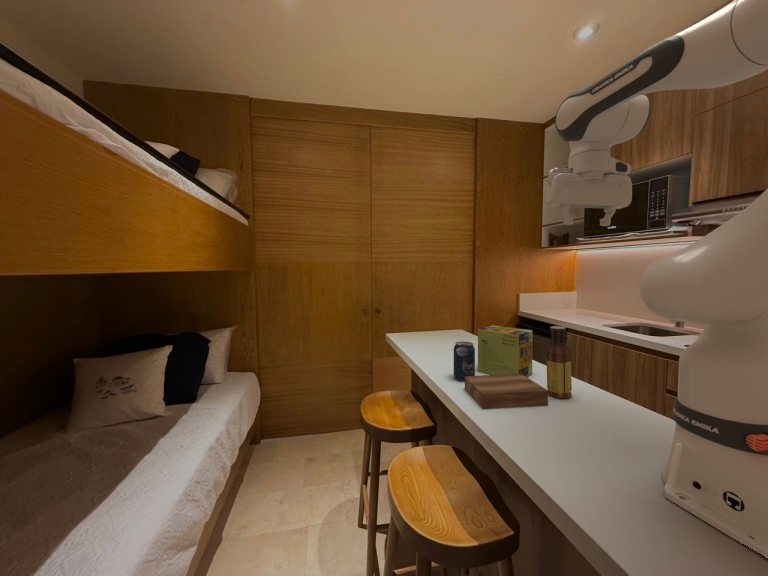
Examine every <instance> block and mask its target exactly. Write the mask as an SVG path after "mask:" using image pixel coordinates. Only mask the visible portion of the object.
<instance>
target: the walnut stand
mask: <svg viewBox="0 0 768 576" xmlns="http://www.w3.org/2000/svg"><path fill="white" fill-rule="evenodd" d="M464 390H465V391H466V393H468V394H469V395H470V397H471V398H472V399H473V400H474V401H475V402H476V404H478V405H479V407H480V408H482V409H483V410H485V409H486V410H487V409H506V408H522V407H523V408H524V407H540V406H541V407H542V406H548V405H549V393H548V389H546V388H545V387H543V386H541V385H540V384H538V383H536V382H535V381H534V380H532V379H530V378H529V377H526V376H524V375H522V374H504V375H491V374H487V375H485V374H484V375H483V374H482V375H475V376H465V382H464Z"/></svg>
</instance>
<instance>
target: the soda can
mask: <svg viewBox="0 0 768 576" xmlns="http://www.w3.org/2000/svg"><path fill="white" fill-rule="evenodd" d="M465 376H476V348H475V347H474V343H473V342H470V341H456V342H455V345H454V347H453V377H454V379H456V381H458V380H459V382H463V381H464V383H465Z"/></svg>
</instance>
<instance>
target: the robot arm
mask: <svg viewBox="0 0 768 576" xmlns="http://www.w3.org/2000/svg"><path fill="white" fill-rule="evenodd" d="M767 70H768V0H732V1H731V2H729V3H727V4H726V5H724V6H723V7H721V8H720V9H718V10H717V11H714V12H713V13H712V14H710V15H708V16H707V17H705V18H703V19H702V20H700V21H698V22H697V23H695V24H693V25H691V26H689V27H688V28H685V29H683V30H681V31H680V32H677V33H675V34H673V35H670V36H669V37H666V38H665V39H662V40H661V41H659V42H657V43H654V44H653V45H651V46H649V47H647V48H646V49H644V50H643V51H640V52H639V53H637V55H635V56H633V57H632V58H630V59H629V60H627V61H626V62H624V63H623V64H621V65H620V66H618V67H617V68H615V69H614V70H612V71H611V72H609V73H608V74H606V75H605V76H603V77H601V78H599V79H598V80H597V81H595V82H594V83H593V84H590V85H588V86H586V87H581V88H578V89H575V90H574V91H573V92H572V93H570V94H569V95H568V96H567V97H566V98H565V99H564V100H563V102H561V104H560V105H559V107H558V109H557V111H556V113H555V116H554V117H555V118H554V127H555V129H556V132H557V133H558V135H559V137H560V138H561V139H562V140H563V141H565V142H568V146H569V148H570V152H569V156H568V160H567V161H568V163H567V164H568V165H567V167H568V168H567V167H565V168H563V167H562V168H560V167H554V168H552V169H551V170H549V171H548V173H547V176H546V177H547V178H546V183H547V185H546V191H545V197H544V198H545V199H544V203H545V204H546V205H547V207H552V208H553V207H557V208H559V209H558V211H559V213H560V214H561V216H562V218H563V225H566V226H570V225H573V224H574V220H575V218H574V217H575V216H571V214H570V211H569V210H571V208H583V209H584V208H585V209H603V213H605V214H604V217H603V218H600V219H599V222H600V223H599V226H602V227H608V226H610V225H611V223H612V222H611V221H612V220H611V219H612V217H614V215H615V212H617V211H616V210H620V209H624V208H627V207H629V206H630V204H631V203H632V201H633V199H632V198H633V183H632V179H631V177H630V176H629V174H630V173H631V171H632V166H631V165H630V164H628V163H626V162H623V161H621V160H618V158H617V159H616V158H615V157H613V156H611V154H612V153H611V149H612V147H613V146H614V145H620V144H623V143H626V142H630V141H632V140H634V139H635V138H637V137H638V136H639V135H640V134H641V133H642V132H643V131H644V130H645V129H646V127H647V125H648V124H649V122H650V118H651V115H652V104H651V100H650V98H648V96H647V95H646V94H651V93H656V92H665V91H674V90H678V91H679V90H703V89H705V90H706V89H718V88H723V87H726V86H729V85H731V84H732V85H733V84H735V83H738V82H741V81H744V80H746V79H750V78H752V77H754V76H756V75H759V74H761V73H763V72H766V71H767ZM638 288H639V295H640V298H641V301H642V302H643V305H645V306H646V308H647V309H648V310H649V311H650V312H651V313H652V314H654V315H656V316H659V317H661V318H664V319H668V320H672V321H673V320H674V321H679V322H685V323H690V324H705V326H704V328H703V330H702V332H701V333H700V335H699V336H698V337H697V338H696V339H695V340H694V341H693V342H692V343H691V344H689V345H688V346H687V347H686V348H684V349H683V351H681V354H680V355H679V359H678V375H677V376H678V378H677V380H678V381H677V382H678V383H677V396H676V397H675V398H674V400H673V401H674V402H673V407H672V412H673V413H672V414H673V415H672V419H673V421H674V422H675V427H674V433H673V438H672V444H671V449H670V452H669V456H668V459H667V462H666V464H665V466H664V467H663V470H662V472H661V478H662V482H663V483H664V487H663V491H662V494H663V496H664V497H665V498H666V499H667V500H669V501H670V502H672V503H674V504H676V505H678V506H679V507H681V508H682V509H684V510H685V511H687V512H689V513H690V514H692V515H694V516H696V517H697V518H698V519H701V520H702V521H704V522H705V523H707V524H708V525H710V526H712V527H713V528H715V529H717V530H719V531H720V532H721V533H724V534H725V535H727V536H729V537H730V538H732V539H734V540H736V542H738V541H739V542H738V543H740V544H742V545H743V544H744V545H743V546H745V545H746V547H747V546H748V547H749V549H750V548H751V549H750V550H752V549H753V550H755V551H757V552H759V553H762V554H764V555H766V556H767V557H768V187H767V188H766V190H764V191H763V192H762V193H761V194H760V195H759V196H758V197H757V198H755V200H754V201H753V202H751V203H750V204H749V205H747V206H746V207H745V208H744V209H743V210H741V211H739V212H738V213H737V214H736V215H734V216H733V217H731V218H730V219H728V220H727V221H725V222H724V223H722V224H721V225H719V226H718V227H716V228H715V229H713V230H712V231H711V232H708V234H706V235H704V236H703V237H701V238H700V239H698V240H696V241H694V242H692V243H691V244H690V245H688V246H685V247H684V248H682V249H680V250H678V251H675V252H673V253H670V254H668V255H665V256H663V257H660V258H658V259H655V260H654V261H652V262H651V263H649V264H648V266H646V268H645V269H644V270H643V272H642V275H641V277H640V280H639V286H638ZM748 547H747V548H748ZM753 550H752V551H753ZM755 551H754V552H755ZM757 552H756V553H757Z"/></svg>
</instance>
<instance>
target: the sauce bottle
mask: <svg viewBox="0 0 768 576" xmlns="http://www.w3.org/2000/svg"><path fill="white" fill-rule="evenodd" d="M549 332H550V343H549V345H548V347H547V350H546V357H545V359H546V388H547V389H546V390H548V395H550V396H551V397H554V398H557V399H568V398H571V397H572V391H573V390H572V389H573V388H572V385H573V383H572V382H573V381H572V359H571V356H572V355H571V352H570V351H571V350H570V348H569V346H568V344H567V340H566V332H567V327H566V326H561V325H559V326H558V325H552V326H550V328H549Z"/></svg>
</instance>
